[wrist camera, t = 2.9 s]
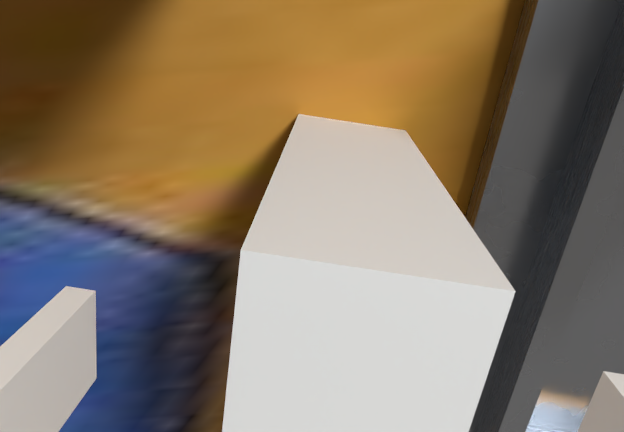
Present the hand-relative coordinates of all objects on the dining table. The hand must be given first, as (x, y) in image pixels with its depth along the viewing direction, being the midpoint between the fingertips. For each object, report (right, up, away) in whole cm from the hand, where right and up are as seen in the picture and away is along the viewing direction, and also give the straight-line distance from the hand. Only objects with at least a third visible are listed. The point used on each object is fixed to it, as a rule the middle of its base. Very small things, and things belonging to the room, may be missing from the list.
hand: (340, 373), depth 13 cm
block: (0, +3, +7) cm, 8 cm away
